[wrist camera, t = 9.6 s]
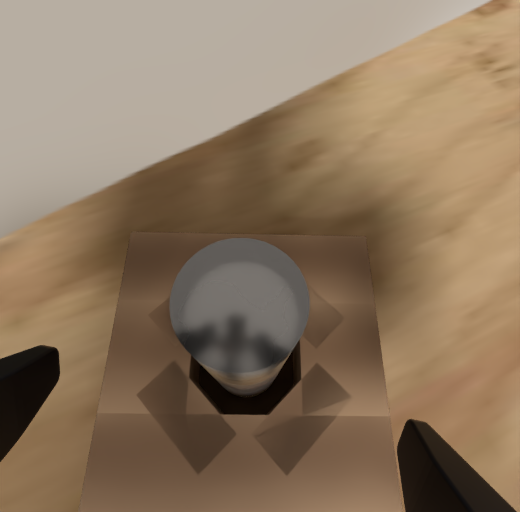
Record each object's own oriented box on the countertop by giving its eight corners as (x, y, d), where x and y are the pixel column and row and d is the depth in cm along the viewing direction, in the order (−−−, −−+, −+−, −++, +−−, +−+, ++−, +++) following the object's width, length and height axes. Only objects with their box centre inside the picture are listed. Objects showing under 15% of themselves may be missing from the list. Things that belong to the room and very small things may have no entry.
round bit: (287, 381, 18) (334, 338, 8) (228, 408, 17) (194, 398, 7) (263, 324, 19) (276, 221, 9) (207, 346, 18) (153, 263, 8)
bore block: (377, 504, 15) (404, 523, 13) (107, 503, 15) (76, 521, 13) (350, 260, 21) (365, 236, 18) (147, 256, 20) (131, 231, 18)
